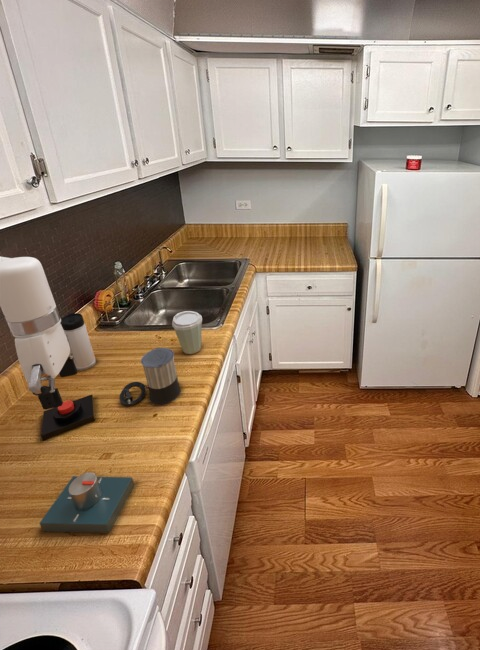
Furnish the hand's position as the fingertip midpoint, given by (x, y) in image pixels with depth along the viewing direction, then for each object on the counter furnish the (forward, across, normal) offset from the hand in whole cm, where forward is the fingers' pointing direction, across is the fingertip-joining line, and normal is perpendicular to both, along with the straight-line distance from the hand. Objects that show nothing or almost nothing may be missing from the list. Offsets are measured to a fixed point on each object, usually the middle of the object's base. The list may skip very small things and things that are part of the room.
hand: (62, 390), depth 70 cm
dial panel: (+27, +8, +1) cm, 28 cm away
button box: (+27, -23, -11) cm, 37 cm away
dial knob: (+24, +8, +1) cm, 25 cm away
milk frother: (+28, -24, +10) cm, 38 cm away
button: (+23, -23, -11) cm, 34 cm away
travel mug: (+27, -49, -14) cm, 57 cm away
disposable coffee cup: (+28, -45, +22) cm, 58 cm away
